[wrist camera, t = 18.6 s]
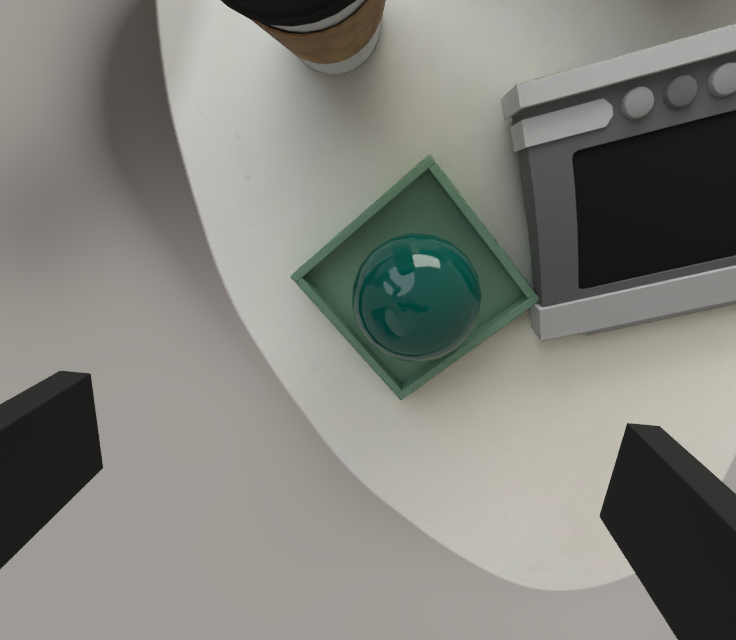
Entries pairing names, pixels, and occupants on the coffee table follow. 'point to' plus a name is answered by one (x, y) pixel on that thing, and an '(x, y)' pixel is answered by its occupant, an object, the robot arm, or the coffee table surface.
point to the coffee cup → (319, 29)
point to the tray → (426, 216)
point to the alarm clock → (630, 185)
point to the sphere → (416, 297)
